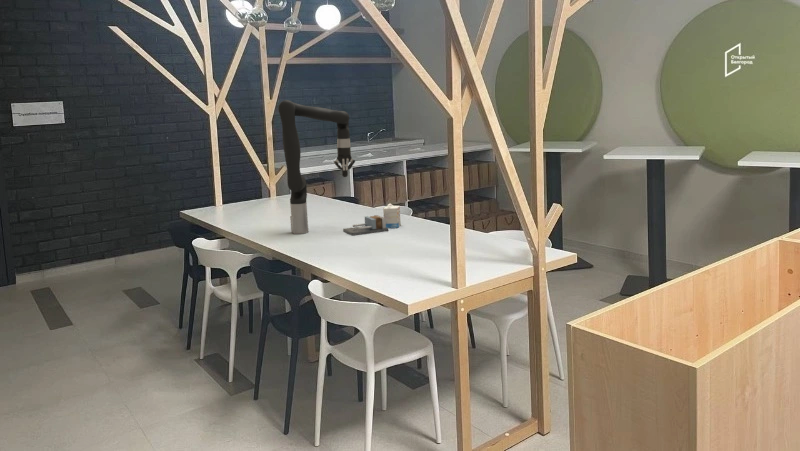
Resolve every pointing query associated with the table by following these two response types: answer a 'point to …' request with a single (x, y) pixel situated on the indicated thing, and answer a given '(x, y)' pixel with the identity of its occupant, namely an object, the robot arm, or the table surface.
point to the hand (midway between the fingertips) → (345, 176)
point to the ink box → (392, 216)
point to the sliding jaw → (367, 223)
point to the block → (377, 221)
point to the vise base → (366, 231)
